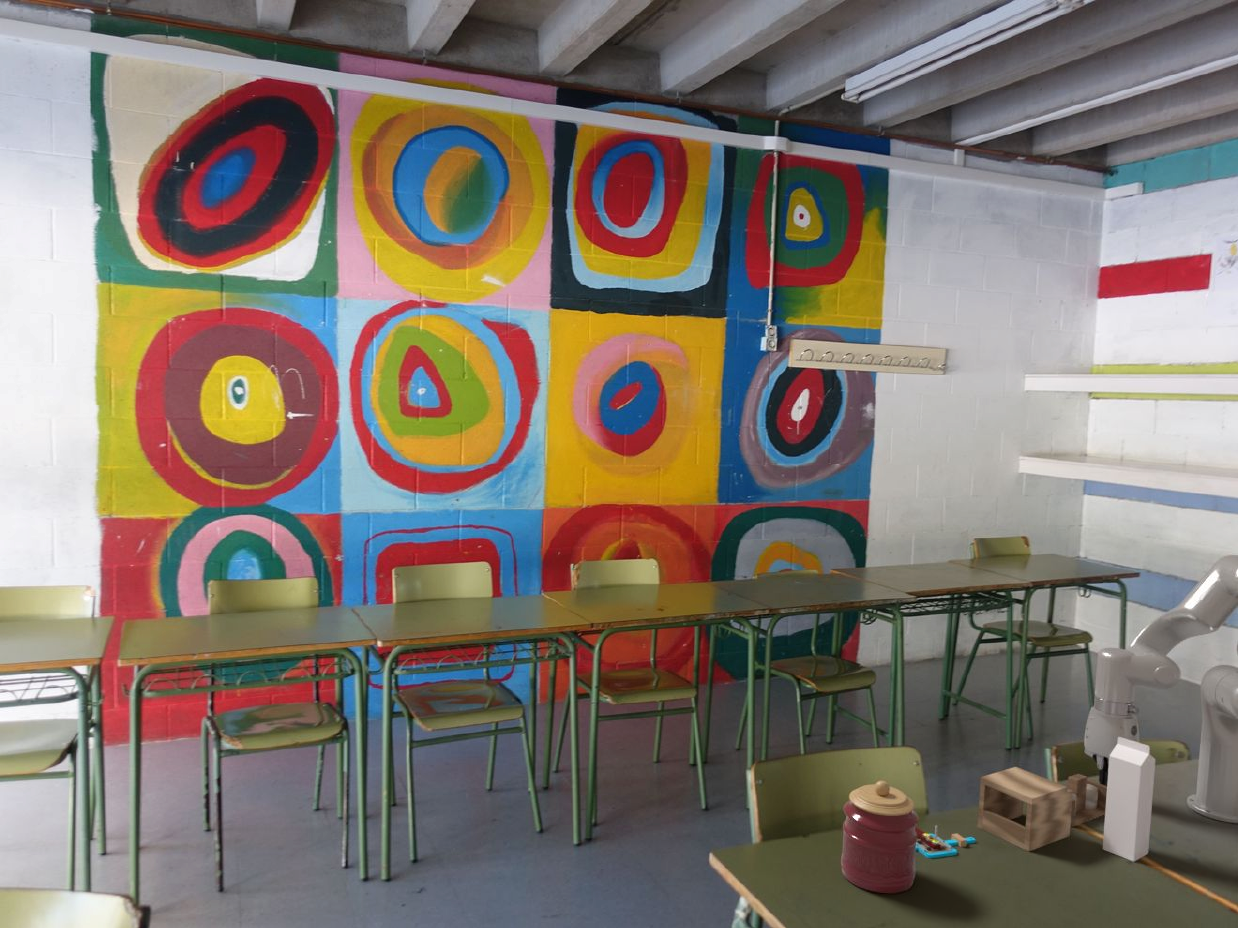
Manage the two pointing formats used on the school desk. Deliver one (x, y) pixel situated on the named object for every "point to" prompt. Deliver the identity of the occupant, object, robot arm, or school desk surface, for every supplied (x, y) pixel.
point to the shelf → (1006, 801)
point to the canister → (879, 839)
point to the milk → (1129, 800)
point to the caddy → (1086, 799)
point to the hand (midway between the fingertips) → (1107, 787)
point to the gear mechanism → (939, 844)
